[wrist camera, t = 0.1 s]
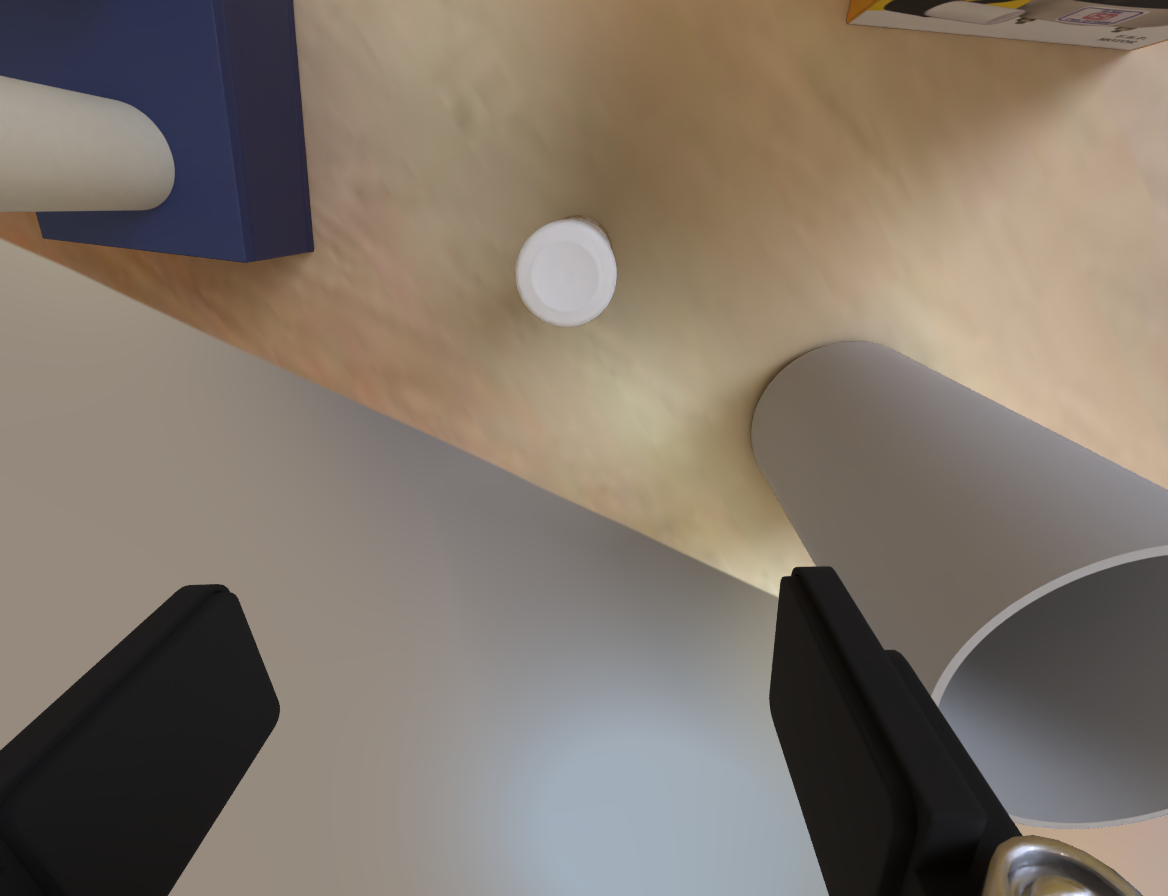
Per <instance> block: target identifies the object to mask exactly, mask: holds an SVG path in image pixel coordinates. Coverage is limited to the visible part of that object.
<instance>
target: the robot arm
mask: <svg viewBox="0 0 1168 896" xmlns="http://www.w3.org/2000/svg"><path fill="white" fill-rule="evenodd" d="M769 696H770V697H769V700H770V710H771V715H772V719H773V722H774V726H775V728H776V732H777V735H778V738H779V741H780V744H781V747H782V750H783V754H784V757H785V760H786V763H787V766H788V769H789V772H790V775H791V778H792V781H793V785H794V788H795V790H796V794H797V797H798V800H799V803H800V806H801V810H802V813H803V816H804V819H805V822H806V825H807V828H808V831H809V834H810V837H811V841H812V844H813V847H814V850H815V853H816V856H817V859H818V862H819V866H820V869H821V872H822V875H823V878H824V881H825V884H826V887H827V890H828V893H829V896H1143V895H1142V894H1141V893H1140V892H1139V891H1138V890H1137V889H1135V888H1134V887H1133V886H1132V885H1131V884H1130V883H1129V882H1127V881H1126V880H1125V879H1124V878H1123V877H1122V876H1120V875H1119V874H1118V873H1117V872H1116V871H1115V870H1113V869H1112V868H1110V867H1109V866H1107V865H1105V864H1104V863H1102V862H1101V861H1099V860H1098V859H1096V858H1094V857H1093V856H1091V855H1090V854H1088V853H1086V852H1085V851H1082V850H1080V849H1078V848H1075V847H1073V846H1071V845H1068V844H1066V843H1064V842H1061V841H1059V840H1055V839H1050V838H1045V837H1040V836H1035V835H1030V836H1022V834H1021V833H1020V831H1019V830H1018V828H1017V827H1016V826H1015V824H1014V822H1013V821H1012V819H1011V818H1010V816H1009V814H1008V813H1007V811H1006V810H1005V808H1004V807H1003V805H1002V804H1001V802H1000V801H999V799H998V798H997V796H996V795H995V793H994V792H993V790H992V789H991V787H990V786H989V784H988V783H987V781H986V779H985V778H984V776H983V775H982V773H981V772H980V770H979V769H978V767H977V766H976V764H975V763H974V761H973V760H972V758H971V757H970V755H969V754H968V752H967V751H966V749H965V748H964V746H963V744H962V743H961V741H960V740H959V738H958V737H957V735H956V734H955V732H954V731H953V729H952V728H951V726H950V725H949V723H948V722H947V720H946V719H945V717H944V716H943V714H942V713H941V711H940V709H939V708H938V706H937V705H936V703H935V702H934V700H933V699H932V697H931V696H930V694H929V693H928V691H927V690H926V688H925V687H924V685H923V684H922V682H921V681H920V679H919V678H918V676H917V674H916V673H915V671H914V670H913V668H912V667H911V665H910V664H909V662H908V661H907V660H906V659H905V657H904V656H903V655H902V654H901V653H899V652H898V651H896V650H884V648H883V647H882V645H881V644H880V642H879V640H878V639H877V637H876V636H875V634H874V632H873V631H872V629H871V628H870V626H869V624H868V623H867V621H866V619H865V618H864V616H863V615H862V613H861V611H860V610H859V608H858V607H857V605H856V603H855V602H854V600H853V599H852V597H851V595H850V594H849V592H848V591H847V589H846V587H845V586H844V584H843V582H842V581H841V579H840V578H839V576H838V574H837V573H836V571H835V570H834V569H833V568H832V567H830V566H819V567H795V568H794V569H793V571H792V574H791V576H785V577H782V579H781V583H780V592H779V603H778V612H777V622H776V632H775V643H774V653H773V663H772V673H771V684H770V694H769ZM279 713H280V705H279V701H278V699H277V696H276V693H275V691H274V688H273V686H272V683H271V681H270V678H269V676H268V673H267V671H266V668H265V666H264V663H263V661H262V658H261V655H260V653H259V651H258V648H257V645H256V643H255V640H254V638H253V635H252V633H251V630H250V628H249V625H248V623H247V620H246V618H245V615H244V613H243V610H242V607H241V605H240V602H239V600H238V598H237V596H236V595H235V594H233V593H230V591H229V590H228V588H227V587H225V586H224V585H220V584H209V585H188V586H184V587H182V588H181V589H179V590H178V591H177V592H175V593H174V594H173V595H172V596H171V597H170V598H169V599H168V600H167V601H166V602H164V603H163V604H162V605H161V606H160V607H159V608H158V609H157V610H155V611H154V613H152V614H151V615H150V616H149V617H148V618H147V619H145V620H144V621H143V622H142V623H141V624H140V625H139V626H138V627H137V628H135V630H133V631H132V632H131V633H130V634H129V635H128V636H127V637H126V638H124V639H123V640H122V641H121V642H120V643H119V644H118V645H117V646H116V647H115V648H113V649H112V650H111V651H110V652H109V653H108V654H107V655H106V656H105V657H103V658H102V659H101V660H100V661H99V662H98V663H97V664H96V665H95V666H93V667H92V668H91V669H90V670H89V671H88V672H87V673H86V674H85V675H83V676H82V677H81V678H80V679H79V680H78V681H77V682H76V683H75V684H74V685H72V686H71V687H70V688H69V689H68V690H67V691H66V692H65V693H64V694H63V695H61V696H60V697H59V698H58V699H57V700H56V701H55V702H54V703H52V704H51V705H50V706H49V707H48V708H47V709H46V710H45V711H44V712H42V713H41V714H40V715H39V716H38V717H37V718H36V719H35V720H34V721H33V722H31V723H30V724H29V725H28V726H27V727H26V728H25V729H24V730H23V731H21V732H20V733H19V734H18V735H17V736H16V737H15V738H14V739H13V740H12V741H10V742H9V743H8V744H7V745H6V746H5V747H4V748H3V749H2V750H0V896H168V894H169V893H170V891H171V890H172V888H173V886H174V885H175V883H176V882H177V880H178V879H179V877H180V875H181V874H182V872H183V871H184V869H185V868H186V866H187V865H188V863H189V861H190V860H191V858H192V857H193V855H194V853H195V852H196V850H197V849H198V847H199V846H200V844H201V842H202V841H203V839H204V838H205V836H206V835H207V833H208V831H209V830H210V828H211V827H212V825H213V824H214V822H215V820H216V818H217V817H218V816H219V814H220V812H221V811H222V809H223V808H224V806H225V805H226V803H227V801H228V800H229V798H230V796H231V795H232V794H233V792H234V790H235V789H236V787H237V786H238V784H239V782H240V781H241V779H242V778H243V776H244V775H245V773H246V771H247V770H248V768H249V767H250V765H251V763H252V762H253V760H254V759H255V757H256V756H257V754H258V752H259V751H260V749H261V747H262V746H263V745H264V743H265V741H266V740H267V738H268V737H269V735H270V734H271V732H272V730H273V729H274V727H275V725H276V723H277V721H278V718H279Z"/></svg>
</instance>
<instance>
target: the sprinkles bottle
mask: <svg viewBox="0 0 1168 896" xmlns="http://www.w3.org/2000/svg"><path fill="white" fill-rule="evenodd" d="M515 278H516V285H517V289H518V292H519V294H520V297H521V299H522V301H523V302H524V304H525V305H526V307H527V308H528V309H529V310H530V311H531V312H532V313H533V314H534V315H535V316H536V317H538V318H539V319H540V320H542V321H544V322H546V323H549V324H551V325H554V326H559V327H574V326H579V325H583V324H585V323H587V322H589V321H591V320H593V319H595V318H596V317H597V316H598V315H599V314H601V313H602V312H603V310H604V309H605V308H606V307H607V305H608V304H609V302H610V300H611V299H612V296H613V294H614V291H615V287H616V281H617V268H616V261H615V257H614V254H613V251H612V245H611V241H610V238H609V236H608V234H607V232H606V231H605V229H604V228H603V227H602V226H601V225H600V224H599V223H598V222H596V221H595V220H593V219H590V218H588V217H583V216H572V217H567V218H564V219H563V220H558V221H554V222H551V223H548V224H546V225H544V226H542V227H541V228H539V229H538V230H536V231H535V232H534V233H533V234H532V235H531V236H530V237H529V238H528V239H527V240H526V242H525V243H524V245H523V246H522V248H521V250H520V252H519V255H518V258H517V262H516V268H515Z"/></svg>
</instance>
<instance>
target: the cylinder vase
mask: <svg viewBox="0 0 1168 896" xmlns="http://www.w3.org/2000/svg"><path fill="white" fill-rule="evenodd" d="M751 443H752V449H753V453H754V457H755V459H756V462H757V464H758V466H759V468H760V470H761V472H762V473H763V475H764V477H765V479H766V480H767V482H768V484H769V485H770V487H771V489H772V491H773V492H774V494H775V496H776V498H777V499H778V501H779V503H780V505H781V506H782V508H783V510H784V511H785V513H786V515H787V517H788V518H789V520H790V522H791V524H792V525H793V527H794V529H795V531H796V532H797V534H798V536H799V538H800V539H801V541H802V543H803V544H804V546H805V548H806V550H807V551H808V553H809V555H810V557H811V558H812V560H813V562H814V564H815V565H816V567H819V566H830V567H832V568H833V569H834V570H835V571H836V573H837V574H838V576H839V578H840V579H841V581H842V582H843V584H844V586H845V587H846V589H847V591H848V592H849V594H850V595H851V597H852V599H853V600H854V602H855V603H856V605H857V607H858V608H859V610H860V611H861V613H862V615H863V616H864V618H865V619H866V621H867V623H868V624H869V626H870V628H871V629H872V631H873V632H874V634H875V636H876V637H877V639H878V640H879V642H880V644H881V645H882V647H883V648H884V650H896V651H898V652H899V653H901V654H902V655H903V656H904V657H905V659H906V660H907V661H908V662H909V664H910V665H911V667H912V668H913V670H914V671H915V673H916V674H917V676H918V678H919V679H920V681H921V682H922V684H923V685H924V687H925V688H926V690H927V691H928V693H929V694H930V696H931V697H932V699H933V700H934V702H935V703H936V705H937V706H938V708H939V709H940V711H941V713H942V714H943V716H944V717H945V719H946V720H947V722H948V723H949V725H950V726H951V728H952V729H953V731H954V732H955V734H956V735H957V737H958V738H959V740H960V741H961V743H962V744H963V746H964V748H965V749H966V751H967V752H968V754H969V755H970V757H971V758H972V760H973V761H974V763H975V764H976V766H977V767H978V769H979V770H980V772H981V773H982V775H983V776H984V778H985V779H986V781H987V783H988V784H989V786H990V787H991V789H992V790H993V792H994V793H995V795H996V796H997V798H998V799H999V801H1000V802H1001V804H1002V805H1003V807H1004V808H1005V810H1006V811H1007V813H1008V814H1009V816H1010V818H1011V819H1012V821H1013V822H1014V823H1017V824H1022V825H1028V826H1034V827H1042V828H1054V829H1089V828H1102V827H1111V826H1118V825H1124V824H1130V823H1135V822H1140V821H1145V820H1149V819H1153V818H1157V817H1161V816H1165V815H1168V490H1167V489H1165V488H1163V487H1161V486H1159V485H1157V484H1155V483H1153V482H1151V481H1149V480H1147V479H1145V478H1143V477H1141V476H1139V475H1137V474H1136V473H1134V472H1132V471H1130V470H1128V469H1126V468H1124V467H1122V466H1120V465H1118V464H1116V463H1114V462H1112V461H1110V460H1108V459H1106V458H1104V457H1102V456H1100V455H1098V454H1096V453H1094V452H1093V451H1091V450H1089V449H1087V448H1085V447H1083V446H1081V445H1079V444H1077V443H1075V442H1073V441H1071V440H1069V439H1067V438H1065V437H1063V436H1061V435H1059V434H1057V433H1055V432H1053V431H1051V430H1049V429H1048V428H1046V427H1044V426H1042V425H1040V424H1038V423H1036V422H1034V421H1032V420H1030V419H1028V418H1026V417H1024V416H1022V415H1020V414H1018V413H1016V412H1014V411H1012V410H1010V409H1008V408H1006V407H1005V406H1003V405H1001V404H999V403H997V402H995V401H993V400H991V399H989V398H987V397H985V396H983V395H981V394H979V393H977V392H975V391H973V390H971V389H969V388H967V387H965V386H963V385H961V384H960V383H958V382H956V381H954V380H952V379H950V378H948V377H946V376H944V375H942V374H940V373H938V372H936V371H934V370H932V369H930V368H928V367H926V366H924V365H922V364H920V363H918V362H917V361H915V360H913V359H911V358H909V357H907V356H905V355H903V354H901V353H899V352H897V351H895V350H893V349H891V348H888V347H886V346H883V345H879V344H875V343H870V342H861V341H849V342H840V343H834V344H830V345H826V346H823V347H820V348H817V349H815V350H812V351H810V352H808V353H806V354H804V355H802V356H801V357H799V358H797V359H796V360H794V361H793V362H791V363H790V364H789V365H787V366H786V367H785V368H784V369H783V370H782V371H781V372H780V373H778V374H777V376H776V377H775V378H774V379H773V380H772V381H771V382H770V384H769V385H768V386H767V388H766V389H765V391H764V393H763V394H762V396H761V398H760V400H759V402H758V404H757V407H756V410H755V413H754V416H753V421H752V428H751Z"/></svg>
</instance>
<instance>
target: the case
mask: <svg viewBox="0 0 1168 896" xmlns="http://www.w3.org/2000/svg"><path fill="white" fill-rule="evenodd" d="M222 8H223V16H224V24H225V32H226V40H227V48H228V56H229V63H230V71H231V79H232V87H233V95H234V103H235V111H236V119H237V127H238V135H239V143H240V150H241V158H242V166H243V174H244V182H245V190H246V198H247V206H248V214H249V222H250V229H251V237H252V245H253V253H254V261H260V260H266V259H272V258H278V257H284V256H290V255H296V254H302V253H307V252H313V251H314V247H313V235H312V224H311V212H310V200H309V188H308V176H307V165H306V153H305V141H304V129H303V117H302V106H301V94H300V82H299V70H298V58H297V47H296V35H295V23H294V11H293V0H222Z"/></svg>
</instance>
